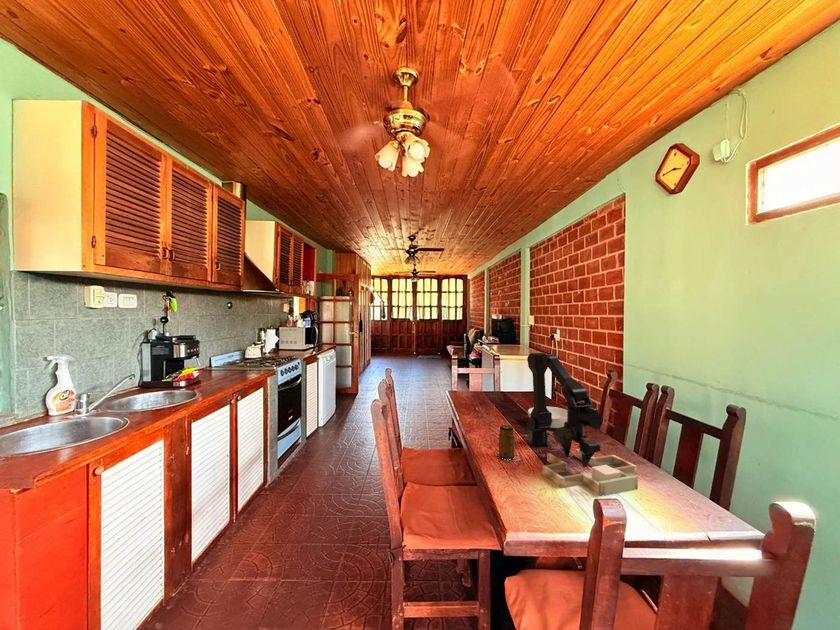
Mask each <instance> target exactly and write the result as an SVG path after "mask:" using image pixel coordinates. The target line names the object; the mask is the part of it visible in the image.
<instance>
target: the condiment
mask: <svg viewBox="0 0 840 630" xmlns="http://www.w3.org/2000/svg"><path fill="white" fill-rule="evenodd" d="M515 443H516V442H515V433H514V427H513V426H512V425H507V424H502V425H500V426H499V433H498V453H493V455H494V456H496V457H497V454H499V457H498V459H500V460H502V461H503V462H505V463H513V462H517V461H522V459H521V458H520V457H518V456H517V455H515V448H516V447H515ZM514 455H515V457H516V459H513V458H514ZM502 458H503V459H502ZM504 459H506V460H504ZM507 459H508V461H507ZM509 459H511V460H509ZM512 461H513V462H512Z"/></svg>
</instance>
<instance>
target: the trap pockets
mask: <svg viewBox="0 0 840 630" xmlns="http://www.w3.org/2000/svg"><path fill="white" fill-rule="evenodd" d="M594 457H595V456H594ZM595 459H597V460H596V461H597V462H596V463H597V464H596V465H597V466H601V465H608V466H609V467H611V468H614V469H615V468H616V470H617V469H618V470H620V471H622V472H624V473H626V474H628V475H630V476H632V475H635V476H638V465H636V464H633V462H629V461H627V460H626V459H623V458H621V457H619V456H617V455H615V454H609V455H603V456H596V457H595ZM566 463H567V462H566ZM566 463H557V464H551V463H549V464H545V465H541V475H542V476H544V477H545V478H547V479H548V480H549V481H551V482H552V483H553V484H555V485H557V487H560V488H561V489H564V488H569V487H574V486H575V487H576V486H580V485H584V484H583V475H584V474H585V473H584V474H582V473H576V474H573V473H572V472H570V471H569V470H567V471H565V464H566Z"/></svg>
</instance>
